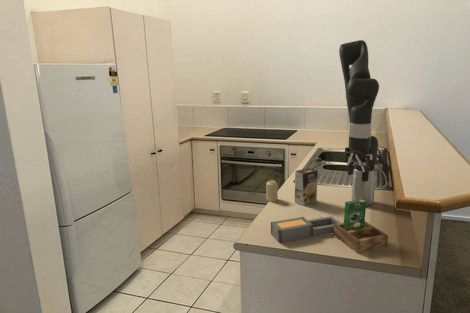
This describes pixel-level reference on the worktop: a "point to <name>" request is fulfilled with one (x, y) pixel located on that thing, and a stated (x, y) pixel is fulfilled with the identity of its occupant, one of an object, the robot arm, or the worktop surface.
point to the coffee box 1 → (306, 186)
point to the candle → (271, 190)
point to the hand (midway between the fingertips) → (357, 177)
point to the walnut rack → (361, 237)
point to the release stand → (303, 229)
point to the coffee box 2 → (354, 214)
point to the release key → (291, 224)
